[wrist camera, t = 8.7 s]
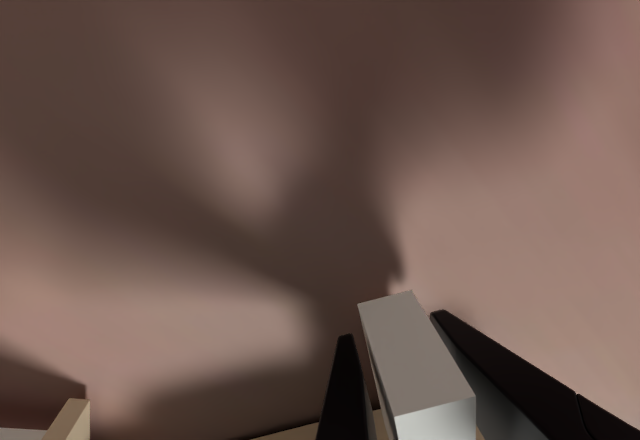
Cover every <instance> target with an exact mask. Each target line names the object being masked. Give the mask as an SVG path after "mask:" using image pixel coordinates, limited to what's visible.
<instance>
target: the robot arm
mask: <svg viewBox="0 0 640 440" xmlns="http://www.w3.org/2000/svg"><path fill="white" fill-rule="evenodd" d="M430 321H431V323H432V324H433V326H434V328H435V329H436V331H437V333H438V334H439V336H440V338H441V339H442V341H443V343H444V344H445V346H446V348H447V349H448V351H449V353H450V354H451V356H452V357H453V359H454V361H455V362H456V364H457V366H458V367H459V369H460V371H461V372H462V374H463V376H464V377H465V379H466V381H467V382H468V384H469V386H470V387H471V389H472V390H473V392H474V394H475V395H476V425H477V427H478V429H479V430H480V432H481V434H482V436H483V437H484V439H485V440H640V430H638V429H636V428H634V427H633V426H631V425H629V424H627V423H626V422H624V421H622V420H621V419H619V418H618V417H616V416H614V415H613V414H611V413H609V412H608V411H606V410H604V409H603V408H601V407H599V406H598V405H596V404H594V403H593V402H591V401H590V400H588V399H586V398H585V397H583V396H582V395H580V394H577V395H576V393H575V391H574V390H572V389H570V388H569V387H567V386H566V385H564V384H562V383H561V382H559V381H558V380H556V379H554V378H553V377H551V376H550V375H548V374H546V373H545V372H543V371H542V370H540V369H538V368H537V367H535V366H534V365H532V364H531V363H529V362H527V361H526V360H524V359H523V358H521V357H519V356H518V355H516V354H515V353H513V352H511V351H510V350H508V349H507V348H505V347H503V346H502V345H500V344H499V343H497V342H495V341H494V340H492V339H491V338H489V337H487V336H486V335H484V334H483V333H481V332H480V331H478V330H476V329H475V328H473V327H472V326H470V325H468V324H467V323H465V322H464V321H462V320H460V319H459V318H457V317H456V316H454V315H452V314H451V313H449V312H448V311H446V310H443V309H442V310H438V311H434V312H431V313H430ZM315 440H377V435H376V428H375V422H374V416H373V411H372V407H371V403H370V399H369V395H368V391H367V387H366V383H365V379H364V375H363V371H362V367H361V363H360V360H359V356H358V352H357V349H356V345H355V341H354V338H353V335H352V334H351V333H349V334H345V335H341V336H339V337H338V340H337V345H336V349H335V354H334V358H333V362H332V367H331V371H330V376H329V380H328V385H327V389H326V393H325V398H324V402H323V407H322V411H321V416H320V420H319V425H318V429H317V433H316V438H315Z"/></svg>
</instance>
